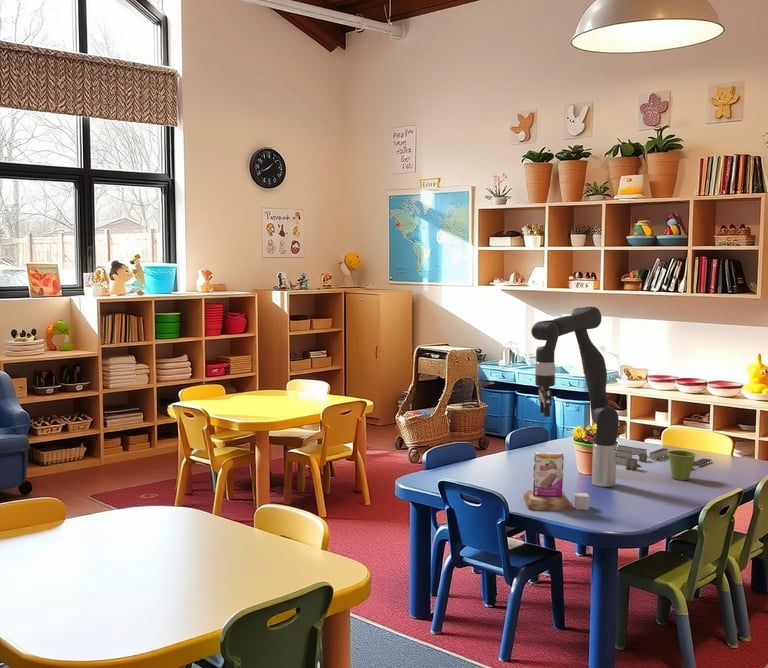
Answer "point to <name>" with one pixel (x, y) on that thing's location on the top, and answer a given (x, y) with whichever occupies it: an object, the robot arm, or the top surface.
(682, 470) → the plant pot
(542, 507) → the plinth
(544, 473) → the candy bar box
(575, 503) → the grey cube
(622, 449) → the building set
